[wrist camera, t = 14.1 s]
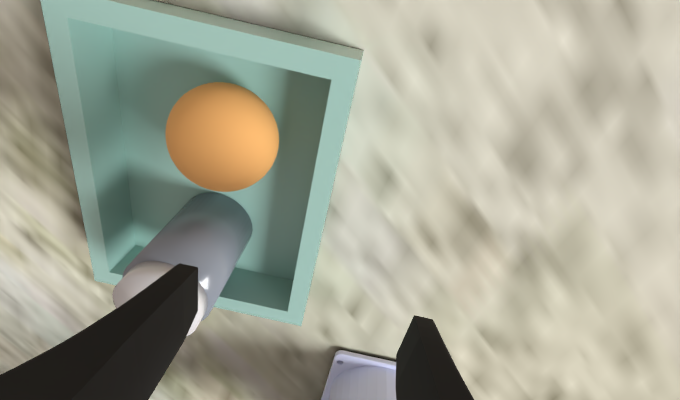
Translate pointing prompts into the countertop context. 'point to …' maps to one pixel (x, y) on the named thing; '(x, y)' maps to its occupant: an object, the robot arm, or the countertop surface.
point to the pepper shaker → (193, 250)
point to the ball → (222, 136)
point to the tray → (150, 142)
